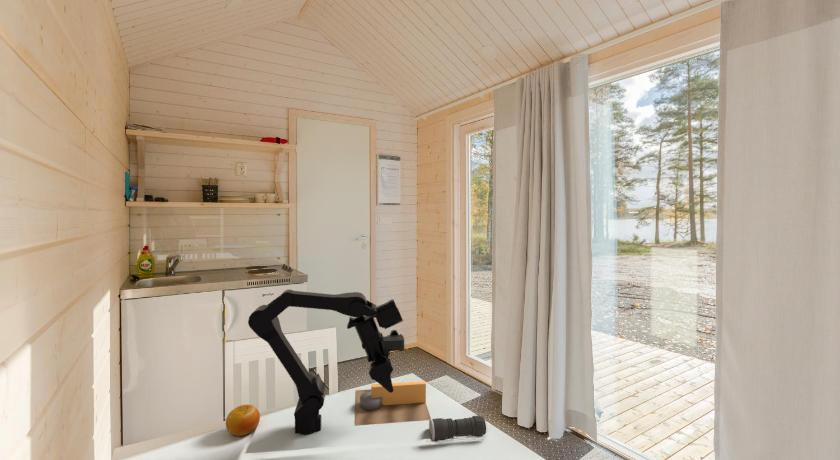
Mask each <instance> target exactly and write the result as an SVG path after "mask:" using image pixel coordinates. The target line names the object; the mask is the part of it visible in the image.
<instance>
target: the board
mask: <svg viewBox="0 0 840 460" xmlns="http://www.w3.org/2000/svg"><path fill="white" fill-rule="evenodd" d="M370 391H371V388H370V389H357V390H355V399H354V400H355V402H354V403H355V405H354V426H367V425H381V424H382V425H383V424H393V423H395V424H397V423H405V422H406V423H407V422H421V421H429V420H430V419H432V418H431V415H430V412H429V411H430V410H429V408H428V406H427V402H425V403H411V404H396V405H382V407H381V408H379V409H376V410H364V409H362V408H361V407H360V396H361V395H362V394H363V393H365V392H370Z"/></svg>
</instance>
